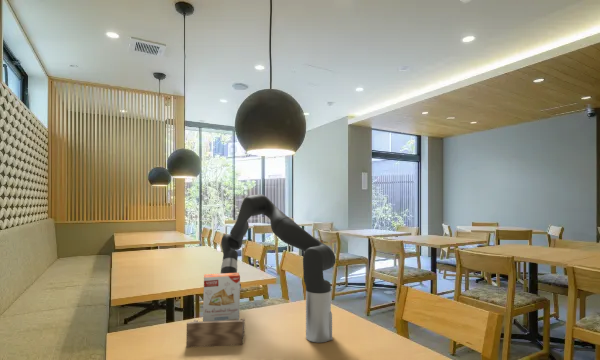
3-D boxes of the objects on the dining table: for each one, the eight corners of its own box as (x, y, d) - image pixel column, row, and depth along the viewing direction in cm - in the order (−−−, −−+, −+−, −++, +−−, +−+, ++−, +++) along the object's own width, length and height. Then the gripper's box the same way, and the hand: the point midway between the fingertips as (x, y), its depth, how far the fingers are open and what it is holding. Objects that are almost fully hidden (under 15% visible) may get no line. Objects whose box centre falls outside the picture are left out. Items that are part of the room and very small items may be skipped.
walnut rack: (244, 331, 128) (244, 310, 129) (242, 344, 117) (242, 321, 117) (193, 333, 126) (194, 312, 127) (186, 347, 115) (186, 323, 115)
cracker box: (202, 332, 128) (203, 277, 129) (202, 326, 133) (203, 273, 135) (239, 328, 131) (240, 274, 132) (238, 323, 137) (238, 271, 138)
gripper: (213, 265, 155) (208, 300, 142) (242, 265, 156) (240, 299, 143) (215, 274, 160) (210, 309, 147) (243, 274, 161) (241, 308, 148)
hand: (225, 304), depth 145 cm, fingers closed
